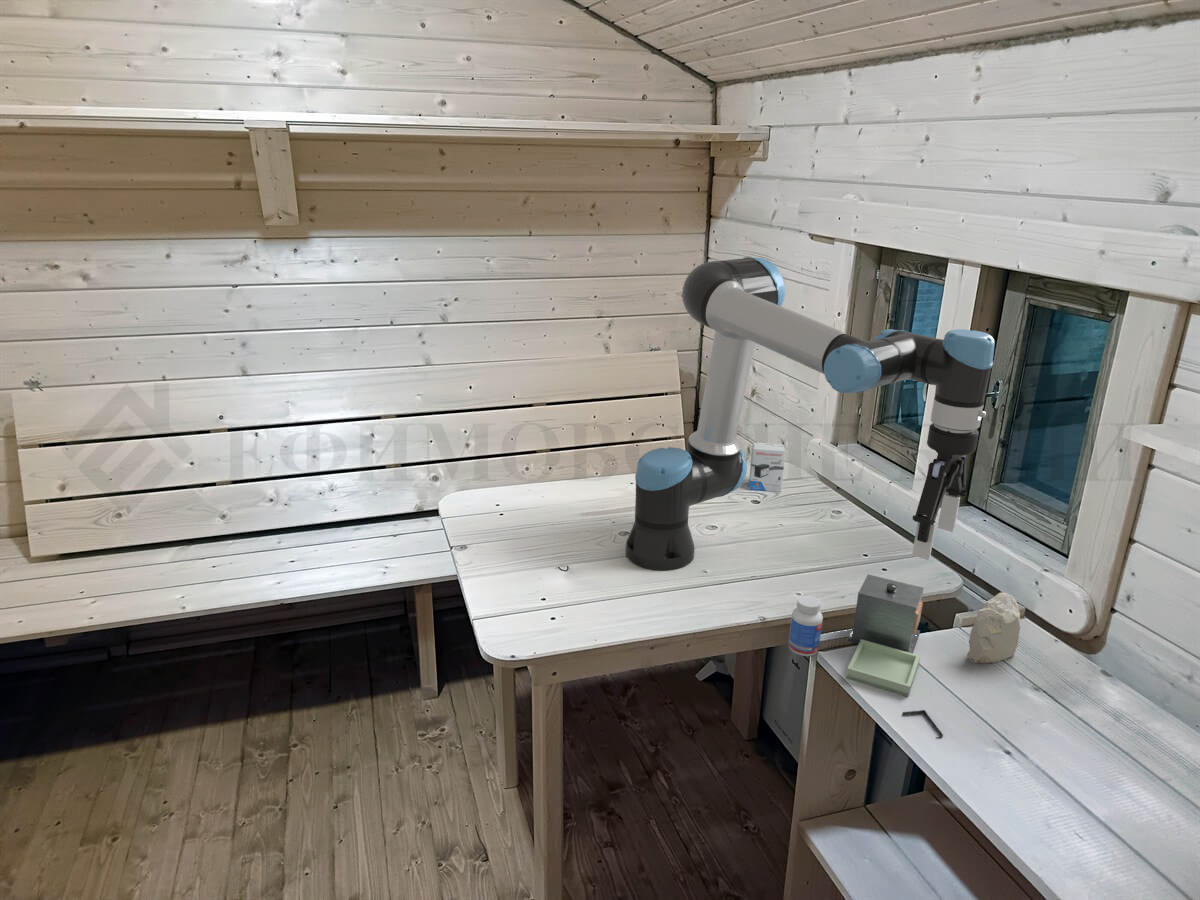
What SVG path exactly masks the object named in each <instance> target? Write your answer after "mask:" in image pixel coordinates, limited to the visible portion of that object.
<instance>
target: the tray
mask: <svg viewBox="0 0 1200 900" xmlns="http://www.w3.org/2000/svg"><path fill="white" fill-rule="evenodd" d="M920 660H921V655H919V654H916V653H913V654H912V653H909V652H905V651H902V650H898V649H895V648H891V647H887V646H884V645H880V644H877V643H873V642H869V641H866V640H862V639H861V640H860V643H859V644H857V648H856V649H855V652H854V653H853V656H852V657H851V660H850V662H849V664H848V666H847V671H846V676H845V679H848V680H851V681H854V682H858V683H862V684H865V685H868V686H871V687H874V688H878V689H881V690H885V691H888V692H891V693H895V694H898V695H901V696H905V697H909V696H910V693H911V690H912V687H913V684H914V682H915V681H914V680H915V678H916V674H917V671H918V668H919V666H920V665H919V664H920Z"/></svg>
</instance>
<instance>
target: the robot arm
mask: <svg viewBox="0 0 1200 900" xmlns="http://www.w3.org/2000/svg"><path fill="white" fill-rule="evenodd" d="M785 295H786V286H785V281H784V277H783V275H782V274H781V273H780V270H779V268H778V267H777V265H776V264H775V263H774V262H772V261H770V260H768V259H766V258H763V257H750V256H747V257H746V256H745V257H742V258H734V259H725V260H724V259H723V260H714V261H713V260H711V261H706V262H704V263H701V264H699V265H697V266H696V267H695V268H693V270H691V271H690V273H688V275H687V277H686V278H685V280H684V282H683V286H682V294H681V297H682V298H681V299H682V303H683V306H684V309H685V310H686V312H687V314H689V316H690V317H691V318H692V319H693V320H694V321H696V322H698V323H699V324H701V325H703V326H704V327H707V328H709V329H710V330H712V331H713V330H714V335H713V336H714V337H713V341H712V345H711V351H710V356H709V357H710V359H709V364H708V370H707V375H706V380H705V385H704V391H703V397H702V402H701V407H700V414H699V420H698V424H697V430H696V431H694V432H692V433H691V434H690V435H689V436H688V440H687V446H686V450H685V449H682V448H680V447H679V448H678V447H671V446H670V447H667V448H664V447H658V448H654V449H651V450H649V451H647V452H645V453H643V455H641V457H640V458H639V459H638V460H637V461H638V462H637V464H636V465H637V466H636V471H635V477H634V478H635V506H634V507H635V508H634V522H633V524H632V527H631V530H630V532H629V535H628V536H627V540H626V544H625V555H626V558H628V560H629V561H630V562H631V563H633V564H634V565H637V566H639V567H642V568H645V569H650V570H655V571H656V570H657V571H670V570H677V569H680V568H681V569H682V568H683V567H686V566H688V565H689V564H691V563H692V562H693V561H694V558H695V549H696V548H695V543H694V540H693V536H692V533H691V530H690V526H689V514H690V513H689V512H690V511H689V510H690V507H691V506H694V505H697V504H701V503H703V502H707V501H709V500H713V499H716V498H720V497H724V496H726V495H729V494H730V493H733V492H734V491H736V490H738V489H739V488H740V487H741V485H742V484H743V483H744V481H745V479H746V476H747V471H748V463H747V460H745V457H746V455H745V453H744V450H743V449H742V444H741V442H740V441H739V439H737V434H738V430H739V424H740V419H741V416H742V415H741V414H742V411H743V410H742V409H743V406H744V405H743V404H744V399H745V393H746V390H747V385H748V380H749V375H750V370H751V366H752V361H753V356H754V353H755V352H754V351H755V346H756V344H758V346H759V345H760V346H762V347H764V348H766V349H768V350H771V351H772V352H775V353H776V354H779V355H782V356H783V357H785V358H787V359H790V360H792V361H795V362H796V363H799V364H800V365H803V366H805V367H808V368H810V369H812V370H814V371H816V372H818V373H820V374H822V375H824V377H825V379H826V382H827V383H828V384H829V385H830V386H831V388H832V389H833V390H834V391H835V392H838V393H842V394H859V393H863V392H867V391H869V390H872V389H875V388H879V387H883V386H885V385H891V384H895V383H897V382H902V381H907V380H909V381H916V382H919V383H923V384H927V385H932V386H935V392H934V398H933V405H932V409H931V414H930V415H931V416H930V422H931V424H930V425H929V428H928V434H927V439H926V445H927V447H928V448H930V449H931V450H932V451H935V453H937V455H936V458H934V459H933V460H932V461H931V462H930V463H929V464H928V467H927V468H928V469H927V475H926V478H925V481H924V485H923V488H922V491H921V495H920V498H919V501H918V505H917V508H916V511H915V515H912V521H914V522H916V523H917V524H916V531H915V535H914V541H913V548H912V554H911V556H913V557H916V558H919V559H923V560H926V561H929V560H930V559H931V554H932V549H933V544H934V538H935V533H936V532H935V531H936V527H937V529H940V530H943V531H947V532H951V533H954V532H955V528H956V523H957V518H958V512H959V507H960V503H961V502H960V501H961V497H963V498H965V497H966V496H967V494H968V493H967V492H968V491H967V490H965V489H966V486H967V483H966V482H967V466H968V465H967V461H968V460H967V459H968V455H971V454H973V453H975V452H976V448H977V445H978V439H979V436H980V435H979V434H980V433H979V430H978V429H979V428H980V427H981V424H982V423H981V422H982V418H985V417H987V412H986V411H984V410H983V409H984V405H985V400H986V394H987V390H988V385H989V380H990V375H991V371H992V368H993V366H994V360H993V359H994V352H995V345H996V344H995V343H996V341H995V339H994V338H993V336H992V335H990V334H989V333H986V332H984V331H979V330H972V329H971V330H970V329H963V328H962V329H959V328H958V329H952V330H948V331H947V332H946V333H945V335H944V337H943V339H940V338H938V337H937V338H936V337H933V336H926V335H922V334H919V333H918V334H917V333H915V332H909V331H907V330H903V329H900V330H897V329H891V328H890V329H884V330H882V331H880V333H879V334H878V335H876V336H875V337H874V339H872V340H864V339H861V338H859V337H856V336H853V335H851V334H849V333H846V332H844V331H843V330H839V329H837V328H834V327H833V326H832V327H831V326H830V325H827V324H825V323H822V322H820V321H817V320H815V319H812V318H811V317H808V316H805V315H804V314H803V315H802V314H801V313H798V312H795V311H793V310H790V309H788V308H785V307H783V306H782V305H783V302H784V301H785V298H786V297H785ZM939 509H940V510H939ZM939 511H940V512H939ZM938 512H939V513H938ZM938 514H939V517H938V521H937V523H936V518H937V516H938ZM936 525H937V526H936Z"/></svg>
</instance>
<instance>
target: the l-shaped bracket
mask: <svg viewBox="0 0 1200 900" xmlns="http://www.w3.org/2000/svg"><path fill="white" fill-rule="evenodd" d="M914 715H924V717H926V719H927V720H928V721H929V723H930V724H931V725H932V727H933V728H934V730H936V732H937V733H938V734H939V736H937V737H935V739H939V738H943V737H944V734H943V733H942V731H941V730H940V729H939V727H938V726H937V725H936V724H935V722H934V721H933V719H932V718H931V717H930V716H929V713H928V712H927V711H926V710H925V709H920V710H912V711H911V710H910V711H902V713H901V716H904V717H905V716H914Z"/></svg>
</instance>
